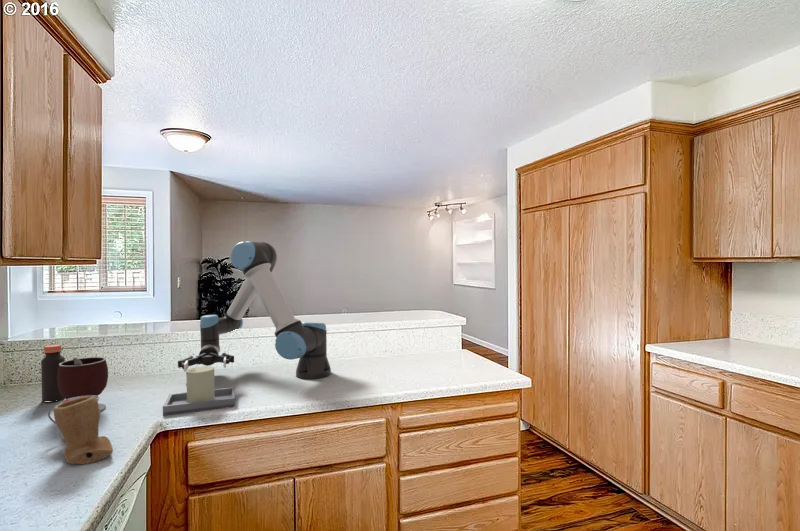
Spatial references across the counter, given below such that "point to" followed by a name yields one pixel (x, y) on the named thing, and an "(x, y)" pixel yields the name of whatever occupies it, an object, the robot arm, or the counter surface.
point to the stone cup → (82, 430)
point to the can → (200, 384)
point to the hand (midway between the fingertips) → (205, 366)
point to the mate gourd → (83, 377)
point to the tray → (180, 405)
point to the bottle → (51, 373)
